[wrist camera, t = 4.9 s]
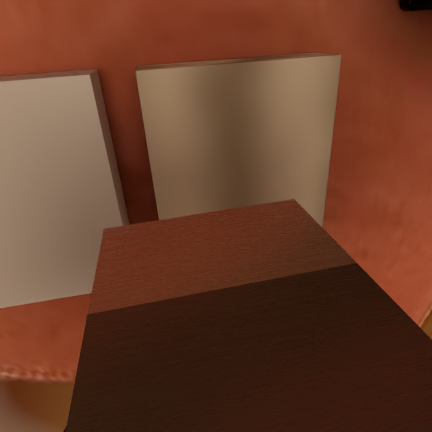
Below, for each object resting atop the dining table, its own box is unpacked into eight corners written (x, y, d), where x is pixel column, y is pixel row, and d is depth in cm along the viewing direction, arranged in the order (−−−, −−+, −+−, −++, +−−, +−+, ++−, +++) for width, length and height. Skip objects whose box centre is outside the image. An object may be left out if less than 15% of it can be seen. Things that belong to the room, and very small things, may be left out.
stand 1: (97, 69, 18) (89, 74, 15) (136, 257, 23) (135, 285, 21) (-72, 81, 16) (-113, 90, 14) (13, 276, 22) (-5, 308, 20)
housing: (294, 198, 9) (529, 440, 4) (286, 370, 12) (403, 632, 7) (103, 228, 8) (37, 586, 3) (149, 402, 12) (159, 722, 6)
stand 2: (314, 52, 19) (341, 54, 17) (300, 232, 25) (319, 255, 22) (136, 65, 18) (135, 71, 15) (165, 253, 24) (168, 280, 21)
